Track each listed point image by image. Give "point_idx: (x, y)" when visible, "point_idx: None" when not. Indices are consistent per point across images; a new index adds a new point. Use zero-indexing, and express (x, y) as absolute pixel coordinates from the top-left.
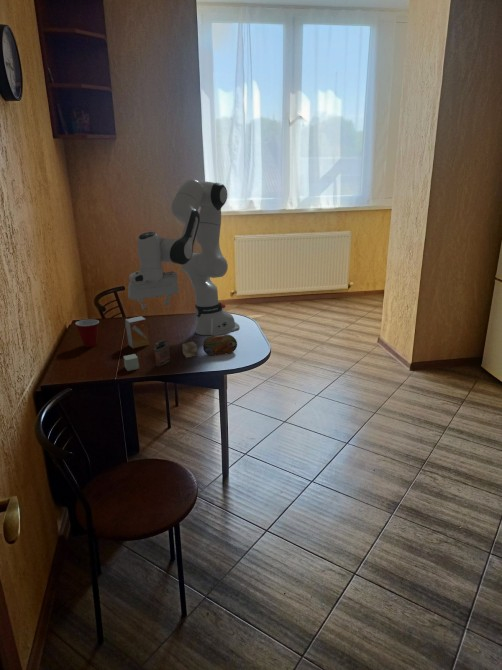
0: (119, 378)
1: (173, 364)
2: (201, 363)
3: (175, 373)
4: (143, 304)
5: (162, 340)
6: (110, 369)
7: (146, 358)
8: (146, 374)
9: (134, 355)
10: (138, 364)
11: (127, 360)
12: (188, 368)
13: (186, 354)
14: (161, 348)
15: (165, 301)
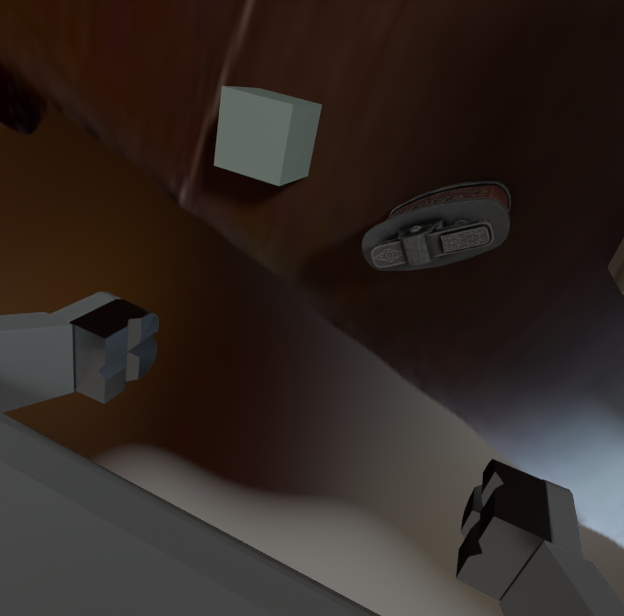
0: (194, 210)
1: (471, 282)
2: (591, 401)
3: (404, 375)
4: (78, 349)
5: (444, 246)
6: (190, 60)
7: (414, 54)
8: (300, 272)
9: (278, 132)
10: (296, 179)
11: (224, 167)
12: (489, 387)
13: (612, 273)
14: (409, 270)
15: (488, 567)
